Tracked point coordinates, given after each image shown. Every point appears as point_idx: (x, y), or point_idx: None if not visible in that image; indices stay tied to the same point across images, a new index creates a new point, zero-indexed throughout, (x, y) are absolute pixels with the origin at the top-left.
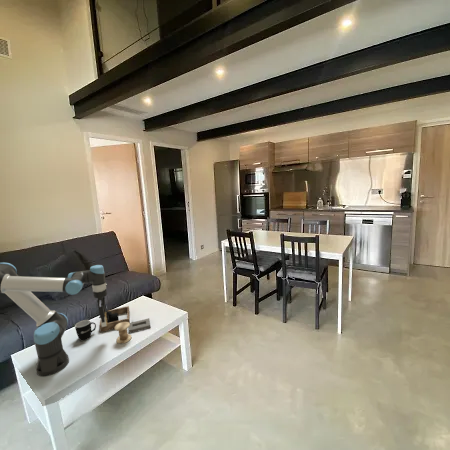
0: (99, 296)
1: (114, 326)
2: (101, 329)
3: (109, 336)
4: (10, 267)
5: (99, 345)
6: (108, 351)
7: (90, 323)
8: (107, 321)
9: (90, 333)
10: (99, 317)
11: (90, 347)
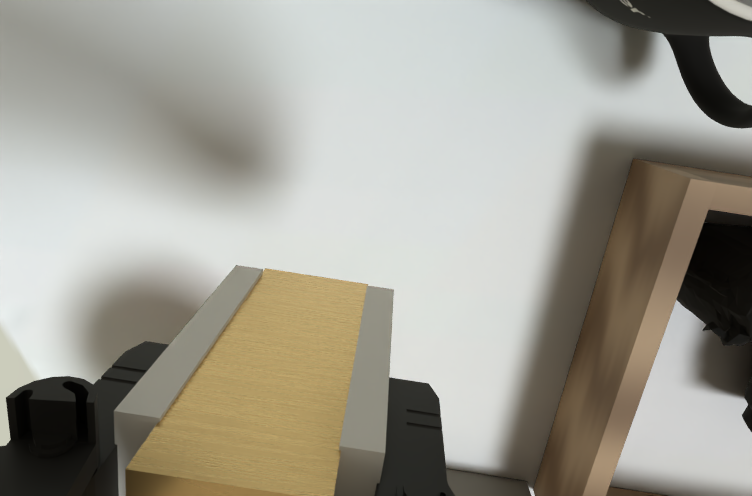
0: None
1: (591, 354)
2: (644, 187)
3: (426, 259)
4: None
5: (279, 127)
6: (86, 216)
7: (733, 27)
8: (723, 315)
9: (611, 16)
10: (11, 407)
11: (297, 9)
